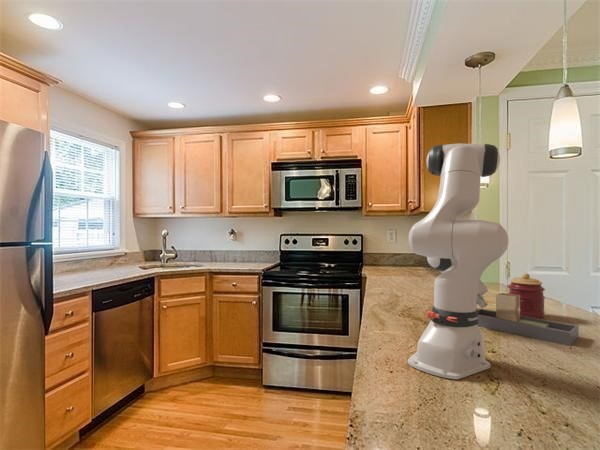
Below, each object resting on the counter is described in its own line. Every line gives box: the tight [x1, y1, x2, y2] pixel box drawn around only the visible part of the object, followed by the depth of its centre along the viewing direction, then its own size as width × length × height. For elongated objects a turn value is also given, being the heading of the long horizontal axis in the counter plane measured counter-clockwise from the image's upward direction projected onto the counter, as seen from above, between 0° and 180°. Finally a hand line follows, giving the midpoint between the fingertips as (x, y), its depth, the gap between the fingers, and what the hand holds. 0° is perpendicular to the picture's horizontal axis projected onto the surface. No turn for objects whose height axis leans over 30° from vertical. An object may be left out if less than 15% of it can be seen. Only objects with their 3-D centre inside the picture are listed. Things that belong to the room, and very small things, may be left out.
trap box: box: [477, 307, 580, 346], centre depth 125 cm, size 12×32×4 cm, turn 42°
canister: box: [507, 272, 546, 319], centre depth 145 cm, size 13×13×18 cm
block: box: [495, 292, 520, 322], centre depth 128 cm, size 6×6×9 cm
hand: (485, 306), depth 134 cm, fingers closed
